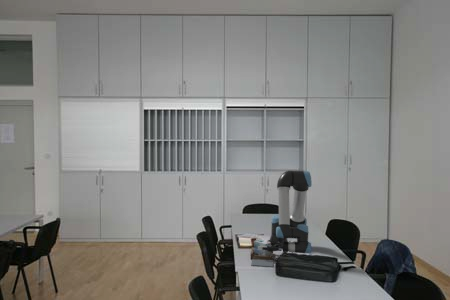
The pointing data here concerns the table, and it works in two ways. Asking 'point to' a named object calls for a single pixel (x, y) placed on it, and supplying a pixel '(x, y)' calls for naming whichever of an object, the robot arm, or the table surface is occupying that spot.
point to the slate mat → (262, 263)
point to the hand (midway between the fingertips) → (257, 245)
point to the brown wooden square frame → (261, 256)
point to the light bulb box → (261, 252)
